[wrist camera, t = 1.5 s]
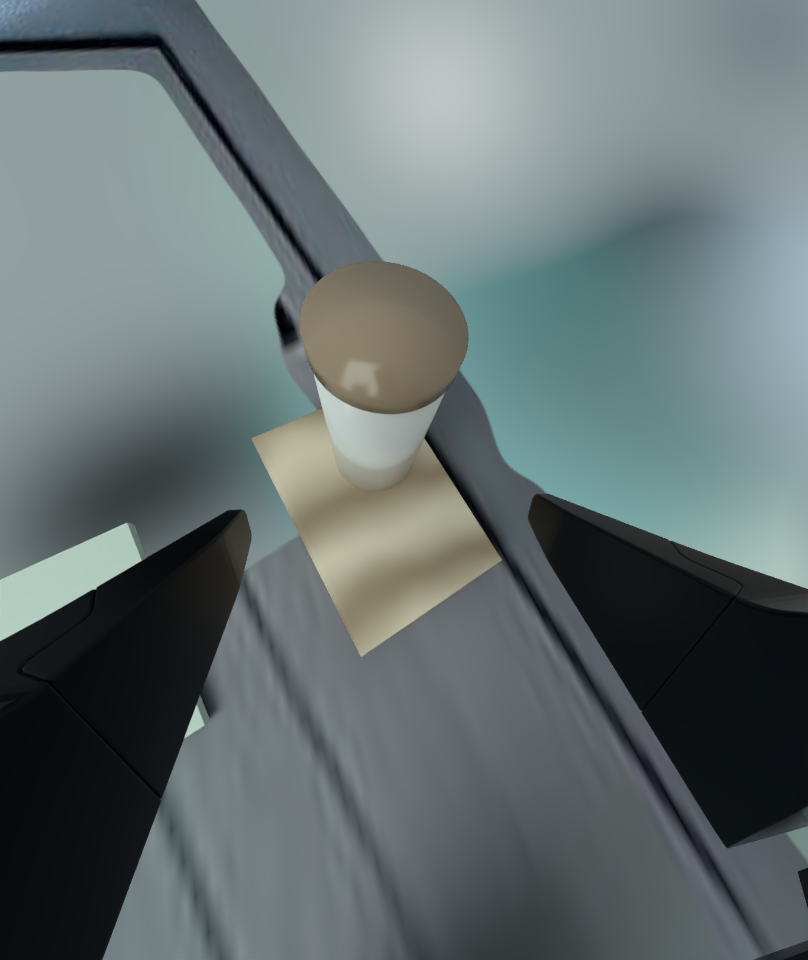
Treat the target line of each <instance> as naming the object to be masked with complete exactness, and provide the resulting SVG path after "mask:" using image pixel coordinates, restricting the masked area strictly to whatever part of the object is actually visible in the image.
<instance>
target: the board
mask: <svg viewBox="0 0 808 960" xmlns="http://www.w3.org/2000/svg"><path fill="white" fill-rule="evenodd" d="M252 441H253V443H254V445H255V447H256V449H257V451H258V453H259V455H260V457H261V459H262V461H263V463H264V465H265V467H266V469H267V470H268V473H269V475H270V477H271V479H272V481H273V483H274V485H275V487H276V489H277V491H278V493H279V495H280V497H281V499H282V501H283V503H284V504H285V507H286V509H287V511H288V513H289V515H290V517H291V518H292V520H293V522H294V524H295V526H296V528H297V530H298V532H299V534H300V536H301V538H302V540H303V542H304V544H305V546H306V548H307V550H308V552H309V554H310V556H311V558H312V560H313V562H314V564H315V566H316V568H317V570H318V572H319V574H320V576H321V578H322V580H323V582H324V584H325V586H326V588H327V590H328V592H329V594H330V596H331V598H332V600H333V602H334V604H335V606H336V608H337V610H338V612H339V614H340V616H341V618H342V620H343V622H344V624H345V626H346V628H347V630H348V632H349V634H350V636H351V638H352V640H353V642H354V644H355V646H356V648H357V650H358V652H359V654H360V656H361V657H362V656H363V655H365V654H366V653H367V652H369V651H370V650H372V649H373V648H375V647H376V646H378V645H379V644H381V643H382V642H384V641H385V640H386V639H388V638H389V637H391V636H392V635H394V634H395V633H397V632H398V631H400V630H401V629H402V628H404V627H405V626H407V625H408V624H410V623H411V622H413V621H414V620H416V619H417V618H419V617H420V616H421V615H423V614H424V613H426V612H427V611H429V610H430V609H432V608H433V607H435V606H436V605H437V604H439V603H440V602H442V601H443V600H445V599H446V598H448V597H449V596H451V595H452V594H453V593H455V592H456V591H458V590H459V589H461V588H462V587H464V586H465V585H467V584H468V583H470V582H471V581H472V580H474V579H475V578H477V577H478V576H480V575H481V574H483V573H484V572H486V571H487V570H488V569H490V568H491V567H493V566H494V565H496V564H497V563H499V562H500V561H502V559H501V558H500V556H499V555H498V553H497V551H496V550H495V548H494V547H493V545H492V544H491V542H490V540H489V539H488V537H487V536H486V534H485V533H484V531H483V529H482V528H481V526H480V525H479V523H478V522H477V520H476V518H475V517H474V515H473V514H472V512H471V511H470V509H469V508H468V506H467V504H466V503H465V501H464V500H463V498H462V497H461V495H460V493H459V492H458V490H457V489H456V487H455V486H454V484H453V482H452V481H451V479H450V478H449V476H448V475H447V473H446V471H445V470H444V468H443V467H442V465H441V464H440V462H439V460H438V459H437V457H436V456H435V454H434V453H433V451H432V449H431V448H430V446H429V445H428V443H427V442H426V440H425V438H424V439H423V441H422V444H421V446H420V448H419V450H418V452H417V454H416V456H415V459H414V461H413V463H412V465H411V467H410V469H409V471H408V473H407V475H406V476H405V478H404V479H403V480H402V481H401V482H400V483H398V484H397V485H395V486H394V487H392V488H390V489H387V490H383V491H374V492H373V491H366V490H362V489H359V488H357V487H355V486H353V485H351V484H350V483H349V482H347V481H346V480H345V479H344V477H343V476H342V475H341V473H340V472H339V470H338V468H337V465H336V462H335V458H334V453H333V449H332V445H331V441H330V437H329V433H328V429H327V425H326V421H325V417H324V413H323V409H320V410H317V411H315V412H313V413H310V414H308V415H306V416H303V417H301V418H299V419H296V420H294V421H292V422H289V423H287V424H284V425H282V426H280V427H277V428H275V429H273V430H270V431H268V432H266V433H263V434H261V435H259V436H256V437H254V438H252Z"/></svg>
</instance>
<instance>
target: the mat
mask: <svg viewBox="0 0 808 960" xmlns="http://www.w3.org/2000/svg"><path fill="white" fill-rule="evenodd" d="M145 558H147V556H146V554H145V551H144V549H143V546H142V544H141V541H140V538H139V536H138V533H137V531H136V528H135V525H134V524H131V523H125V524H123V525H121V526H119V527H116V528H114V529H112V530H110V531H108V532H106V533H103V534H101V535H99V536H97V537H94V538H92V539H90V540H88V541H85V542H83V543H81V544H79V545H77V546H74V547H72V548H70V549H68V550H66V551H63V552H61V553H59V554H56V555H54V556H52V557H50V558H48V559H45V560H43V561H41V562H39V563H37V564H34V565H32V566H30V567H28V568H25V569H23V570H21V571H19V572H17V573H14V574H12V575H10V576H8V577H6V578H3V579H1V580H0V641H1V640H3V639H5V638H7V637H9V636H10V635H12V634H14V633H16V632H18V631H20V630H22V629H23V628H25V627H27V626H29V625H31V624H33V623H35V622H36V621H38V620H40V619H42V618H44V617H45V616H47V615H49V614H51V613H52V612H54V611H56V610H58V609H59V608H61V607H63V606H65V605H67V604H68V603H70V602H72V601H74V600H75V599H77V598H79V597H80V596H82V595H84V594H85V593H87V592H89V591H91V590H93V589H95V590H96V588H97V587H98V586H99V585H101V584H103V583H104V582H106V581H108V580H110V579H111V578H113V577H115V576H116V575H118V574H120V573H122V572H123V571H125V570H127V569H128V568H130V567H132V566H134V565H135V564H137V563H139V562H140V561H142V560H144V559H145ZM209 721H210V719H209V717H208V714H207V711H206V709H205V706H204V704H203V701H202V698H201V696H200V697H199V699H198V702H197V705H196V708H195V710H194V713H193V716H192V718H191V721H190V724H189V726H188V729H187V732H186V735H185V737H184V738H186V737H188V736H189V735H191V734H192V733H194V732H195V731H197V730H198V729H200V728H201V727H203V726H204V725H205V724H207V723H208V722H209Z"/></svg>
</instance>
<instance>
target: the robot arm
mask: <svg viewBox="0 0 808 960" xmlns="http://www.w3.org/2000/svg"><path fill="white" fill-rule="evenodd" d="M528 520H529V523H530V525H531V527H532V529H533V532H534V534H535V536H536V538H537V540H538V542H539V544H540V546H541V548H542V550H543V552H544V554H545V556H546V558H547V560H548V562H549V563H550V565H551V567H552V568H553V570H554V572H555V573H556V575H557V576H558V578H559V580H560V581H561V583H562V585H563V586H564V588H565V589H566V591H567V593H568V594H569V596H570V597H571V599H572V601H573V602H574V604H575V606H576V607H577V609H578V610H579V612H580V614H581V615H582V617H583V618H584V620H585V622H586V623H587V625H588V627H589V628H590V630H591V631H592V633H593V635H594V636H595V638H596V639H597V641H598V643H599V644H600V646H601V648H602V649H603V651H604V652H605V654H606V656H607V657H608V659H609V660H610V662H611V664H612V665H613V667H614V669H615V670H616V672H617V673H618V675H619V677H620V678H621V680H622V681H623V683H624V685H625V686H626V688H627V690H628V691H629V693H630V694H631V696H632V698H633V699H634V701H635V702H636V704H637V706H638V707H639V709H640V710H642V714H643V716H644V717H645V719H646V721H647V722H648V724H649V726H650V727H651V729H652V730H653V732H654V734H655V735H656V737H657V738H658V740H659V742H660V743H661V745H662V747H663V748H664V750H665V751H666V753H667V755H668V756H669V758H670V759H671V761H672V763H673V764H674V766H675V768H676V769H677V771H678V772H679V774H680V776H681V777H682V779H683V781H684V782H685V784H686V785H687V787H688V789H689V790H690V792H691V793H692V795H693V797H694V798H695V800H696V802H697V803H698V805H699V806H700V808H701V810H702V811H703V813H704V814H705V816H706V818H707V819H708V821H709V823H710V824H711V826H712V827H713V829H714V831H715V832H716V834H717V835H718V837H719V838H720V840H721V841H722V842H723V844H724V845H725V846H726V847H727V848H731V847H735V846H739V845H742V844H746V843H749V842H753V841H757V840H760V839H764V838H767V837H771V836H775V835H778V834H782V833H785V832H789V831H793V830H796V829H799V828H803V827H807V826H808V589H806V588H803V587H800V586H797V585H794V584H792V583H789V582H786V581H782V580H780V579H777V578H774V577H771V576H768V575H765V574H762V573H760V572H756V571H754V570H751V569H748V568H745V567H742V566H739V565H736V564H733V563H731V562H728V561H725V560H722V559H719V558H716V557H714V556H710V555H708V554H705V553H703V552H700V551H697V550H695V549H692V548H689V547H686V546H684V545H681V544H678V543H675V542H673V541H669V540H668V539H665V538H663V537H660V536H657V535H655V534H652V533H649V532H647V531H644V530H642V529H639V528H636V527H634V526H631V525H629V524H626V523H623V522H621V521H618V520H616V519H613V518H610V517H608V516H605V515H602V514H600V513H597V512H595V511H592V510H589V509H587V508H584V507H581V506H579V505H576V504H574V503H571V502H568V501H566V500H563V499H560V498H558V497H555V496H553V495H550V494H536V495H535V496H534V497H533V499H532V503H531V506H530V510H529V513H528ZM250 543H251V530H250V526H249V522H248V519H247V515H246V513H245V511H244V510H228V511H226V512H224V513H223V514H221V515H219V516H218V517H216V518H214V519H212V520H211V521H209V522H207V523H205V524H204V525H202V526H200V527H199V528H197V529H195V530H193V531H192V532H190V533H188V534H187V535H185V536H183V537H181V538H180V539H178V540H176V541H175V542H173V543H171V544H169V545H168V546H166V547H164V548H163V549H161V550H159V551H157V552H156V553H154V554H152V555H151V556H149V557H147V558H145V559H144V560H142V561H140V562H139V563H137V564H135V565H134V566H132V567H130V568H128V569H127V570H125V571H123V572H122V573H120V574H118V575H116V576H115V577H113V578H111V579H110V580H108V581H106V582H104V583H103V584H101V585H99V586H98V587H97V588H96V590H95V589H93V590H91V591H89V592H87V593H85V594H84V595H82V596H80V597H79V598H77V599H75V600H74V601H72V602H70V603H68V604H67V605H65V606H63V607H61V608H59V609H58V610H56V611H54V612H52V613H51V614H49V615H47V616H45V617H44V618H42V619H40V620H38V621H36V622H35V623H33V624H31V625H29V626H27V627H25V628H23V629H22V630H20V631H18V632H16V633H14V634H12V635H10V636H9V637H7V638H5V639H3V640H1V641H0V960H102V959H103V957H104V954H105V951H106V948H107V946H108V943H109V940H110V938H111V935H112V932H113V930H114V927H115V924H116V922H117V919H118V916H119V913H120V911H121V908H122V905H123V903H124V900H125V897H126V895H127V892H128V889H129V886H130V884H131V881H132V878H133V876H134V873H135V870H136V868H137V865H138V862H139V859H140V857H141V854H142V851H143V849H144V846H145V843H146V841H147V838H148V835H149V832H150V830H151V827H152V824H153V822H154V819H155V816H156V814H157V811H158V808H159V805H160V803H161V799H160V798H162V796H163V794H164V791H165V788H166V786H167V783H168V780H169V778H170V775H171V772H172V770H173V767H174V764H175V762H176V759H177V756H178V753H179V751H180V748H181V745H182V743H183V740H184V737H185V735H186V732H187V729H188V726H189V724H190V721H191V718H192V716H193V713H194V710H195V708H196V705H197V702H198V699H199V697H200V694H201V691H202V689H203V686H204V683H205V681H206V678H207V675H208V672H209V670H210V667H211V664H212V662H213V659H214V656H215V654H216V651H217V648H218V646H219V643H220V640H221V637H222V635H223V632H224V629H225V627H226V624H227V621H228V619H229V616H230V613H231V610H232V608H233V605H234V602H235V600H236V597H237V594H238V591H239V588H240V585H241V581H242V577H243V573H244V569H245V564H246V560H247V556H248V552H249V547H250ZM798 874H799V878H800V882H801V885H802V889H803V892H804V896H805V900H806V903H807V907H808V868H806V869H803V870H801V871H798ZM754 960H808V941H805V942H802V943H799V944H797V945H794V946H791V947H788V948H785V949H782V950H780V951H777V952H774V953H771V954H768V955H765V956H763V957H760V958H757V959H754Z"/></svg>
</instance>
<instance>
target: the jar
mask: <svg viewBox="0 0 808 960" xmlns="http://www.w3.org/2000/svg"><path fill="white" fill-rule="evenodd" d="M300 331H301V336H302V340H303V344H304V348H305V352H306V356H307V359H308V362H309V365H310V367H311V369H312V371H313V373H314V376H315V380H316V384H317V388H318V392H319V397H320V401H321V405H322V409H323V413H324V417H325V421H326V425H327V429H328V433H329V437H330V441H331V445H332V449H333V453H334V458H335V462H336V465H337V468H338V470H339V472H340V473H341V475H342V476H343V477H344V479H345V480H346V481H347V482H349V483H350V484H351V485H353V486H355V487H357V488H359V489H362V490H366V491H373V492H374V491H383V490H387V489H390V488H392V487H394V486H395V485H397V484H398V483H400V482H401V481H402V480H403V479H404V478H405V476H406V475H407V473H408V471H409V469H410V467H411V465H412V463H413V461H414V459H415V456H416V454H417V452H418V450H419V448H420V446H421V444H422V441H423V439H424V437H425V435H426V433H427V431H428V428H429V426H430V424H431V422H432V420H433V418H434V416H435V413H436V411H437V409H438V407H439V405H440V403H441V401H442V398H443V396H444V394H445V392H446V391H447V390H448V388H449V387H450V386H451V384H452V383H453V381H454V379H455V377H456V375H457V372H458V370H459V368H460V366H461V364H462V362H463V360H464V358H465V355H466V352H467V347H468V328H467V323H466V320H465V317H464V314H463V312H462V310H461V308H460V307H459V305H458V303H457V302H456V300H455V299H454V298H453V297H452V295H451V294H450V293H449V292H448V291H447V290H446V289H445V288H444V287H443V286H442V285H441V284H439V283H438V282H437V281H435V280H434V279H432V278H431V277H429V276H427V275H426V274H424V273H422V272H420V271H418V270H415V269H413V268H410V267H407V266H404V265H400V264H395V263H390V262H379V261H371V262H360V263H355V264H350V265H347V266H344V267H341V268H338V269H336V270H334V271H332V272H330V273H329V274H327V275H326V276H324V277H323V278H322V279H320V280H319V281H318V282H317V283H316V284H315V285H314V286H313V288H312V289H311V290H310V291H309V293H308V295H307V296H306V298H305V300H304V303H303V305H302V309H301V314H300Z"/></svg>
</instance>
